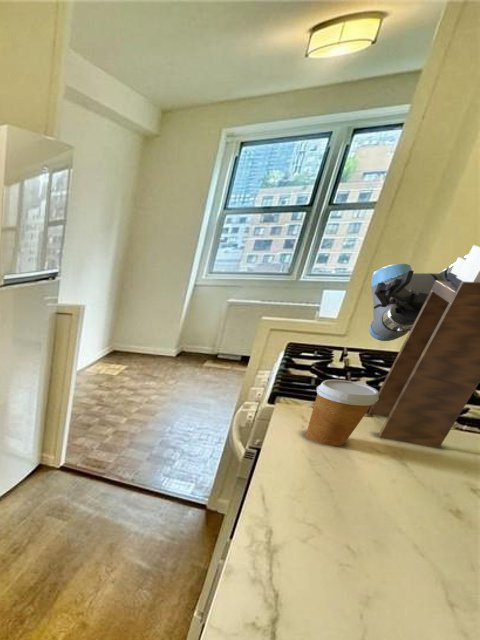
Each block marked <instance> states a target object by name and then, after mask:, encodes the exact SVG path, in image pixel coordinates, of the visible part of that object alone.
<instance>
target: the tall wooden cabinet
mask: <svg viewBox="0 0 480 640" xmlns="http://www.w3.org/2000/svg"><path fill="white" fill-rule="evenodd" d="M407 334H408V335H407V336H406V338H405V340H404V342H403V343H402V345H401V347H400V349H399V351H398V353H397V355H396V357H395V359H394V361H393V363H392V365H391V367H390V369H389V371H388V372H387V375H386V377H385V379H384V380H383V383H382V385H381V386H380V389H379V390H378V398H379V399H378V401H377V402H375V403H374V404H372V406H371V407H370V408H369V410H368V414H369V415H373V416H380V417H386V419H385V421H384V424H383V425H382V427H381V429H380V431H379V432H378V437H379V438H380V439H386V440H391V441H397V442H403V443H408V444H413V445H419V446H424V447H428V448H429V447H430V448H433V449H434V448H435V449H440V448H441V446H442V445H443V443H444V441H445V440H446V438H447V436H448V434H449V433H450V431H451V430H452V428H453V427H454V425H455V423H456V421H457V420H458V418H459V417H460V415H461V414H462V411H463V410H464V408H465V407H466V406H467V403H468V402H469V400H470V399H471V397H472V395H473V394H474V392H475V390H476V389H477V387H478V386H479V384H480V282H468V281H461V283H460V285H459V287H456V286H454V285H452V281H438V280H436V281H435V283H434V285H433V287H432V289H431V291H430V293H429V295H428V297H427V299H426V301H425V303H424V305H423V306H422V308H421V310H420V312H419V314H418V316H417V318H416V320H415V322H414V324H413V326H412V328H411V330H410V331H409V332H408V333H407Z"/></svg>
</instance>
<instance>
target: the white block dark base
mask: <svg viewBox="0 0 480 640" xmlns="http://www.w3.org/2000/svg"><path fill="white" fill-rule="evenodd" d="M467 255H468V256H467ZM467 255H466V256H467V257H465V256H464V257H463V256H462V257H461V256H457V259H456V261H455V262H454V263H455V265H454V266H453V268H452V270H451V272H450V273H449V274H448V276H447V279H448V280H450V281H452V285H454V286H456V287H459V285H460V283H461V281H468V282H480V244H473V245H472V247H471V249H470V250H469V252H468V254H467Z"/></svg>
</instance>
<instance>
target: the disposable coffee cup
mask: <svg viewBox="0 0 480 640" xmlns="http://www.w3.org/2000/svg"><path fill="white" fill-rule="evenodd" d="M378 392H379V390H378V389H376V388H375V387H372V386H370V385H367V384H364V383H360V382H357V381H351V380H344V379H325V380H323V381H322V382H321V383H320V384H319V385H317V386H316V393H317V394H316V397H315V401H314V403H313V407H312V411H311V415H310V419H309V422H308V426H307V430H306V433H305V436H306V438H308V439H309V440H310V441H312V442H315V443H317V444H321V445H326V446H333V447H339V446H344V445H345V444H346V442H347V440H348V439H349V438H350V437H351V435H352V434H353V432H354V431H355V430H356V428H357V427H358V425H359V423H360V422H361V421H362V419H363V418H364V417H365V416H366V414H367V413H368V412H369V410H370V408H371V406H372V404H374V403H375V402H377V401H378V399H379V398H378Z"/></svg>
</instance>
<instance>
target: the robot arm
mask: <svg viewBox="0 0 480 640" xmlns="http://www.w3.org/2000/svg"><path fill="white" fill-rule="evenodd" d="M468 255H469V254H467V255H465V256H464V257H467V256H468ZM455 263H456V262H454V263H453V264H451V265H449V266H447V267H446V268H444V269H443V270H441V271H439V272H427V273H426V272H421V273H419V272H415V273H414V271H415V270H412V267H411V265H410V264H408V263H395V264H390V265H385V266H383V267H381V268H379V269H377V270H375V271H374V272H373V273H372V276H371V293H372V306H373V309H372V313H373V314H372V315H373V320H372V321H371V323H370V325H369V328H368V333H369V335H370V336H371V337H372V338H373V339H375V340H377V341H382V342H391V341H395V340H397V339H400V338H401V337H405V336H406V335H407V334H409V332H410V330H411V328H412V326H413V324H414V322H415V320H416V318H417V316H418V314H419V312H420V310H421V308H422V306H423V305H424V303H425V301H426V299H427V297H428V295H429V293H430V291H431V289H432V287H433V285H434V283H435V281H436V280H438V281H450V280H448V279H447V276H448V274H449V273H450V272H451V270H452V268H453V266H454V265H455Z"/></svg>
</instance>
